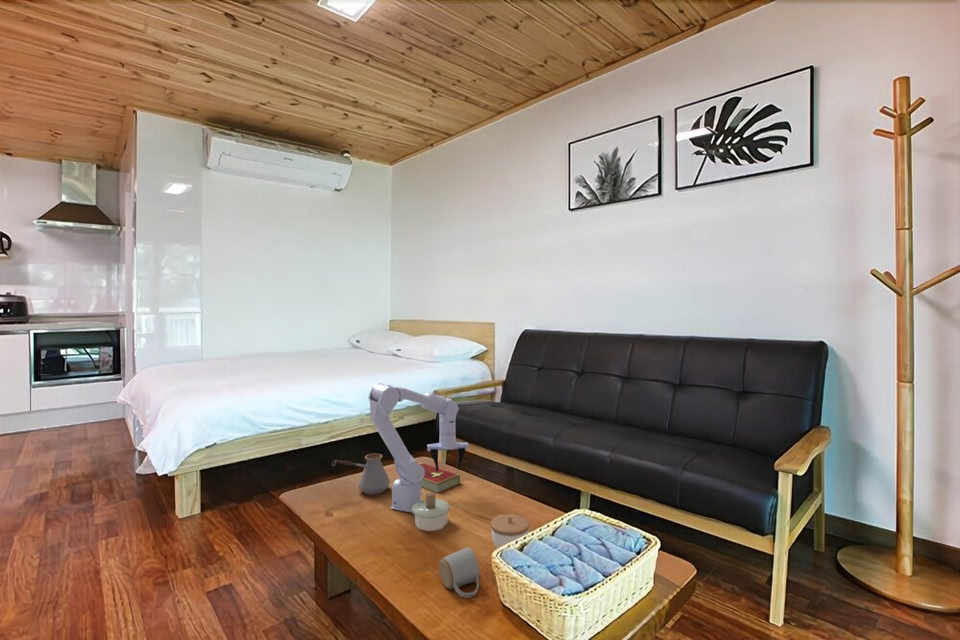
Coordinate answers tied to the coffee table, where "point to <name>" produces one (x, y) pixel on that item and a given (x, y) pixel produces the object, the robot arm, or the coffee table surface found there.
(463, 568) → the ceramic mug
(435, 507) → the lid
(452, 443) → the robot arm
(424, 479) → the hardcover book
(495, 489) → the coffee table surface
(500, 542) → the lidded jar
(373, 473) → the coffee pot
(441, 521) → the bowl
